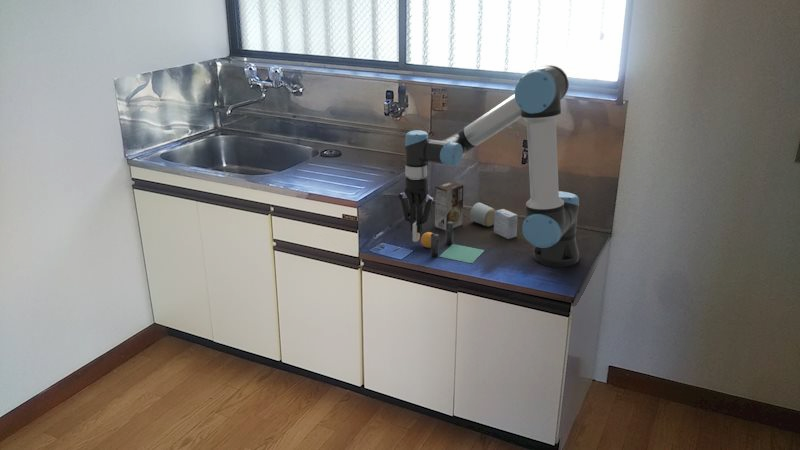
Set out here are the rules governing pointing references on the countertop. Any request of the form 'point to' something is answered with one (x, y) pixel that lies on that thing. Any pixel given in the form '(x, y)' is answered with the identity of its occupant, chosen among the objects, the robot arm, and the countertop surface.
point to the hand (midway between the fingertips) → (416, 240)
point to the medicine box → (505, 223)
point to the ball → (426, 239)
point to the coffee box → (448, 204)
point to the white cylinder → (482, 214)
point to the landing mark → (462, 253)
